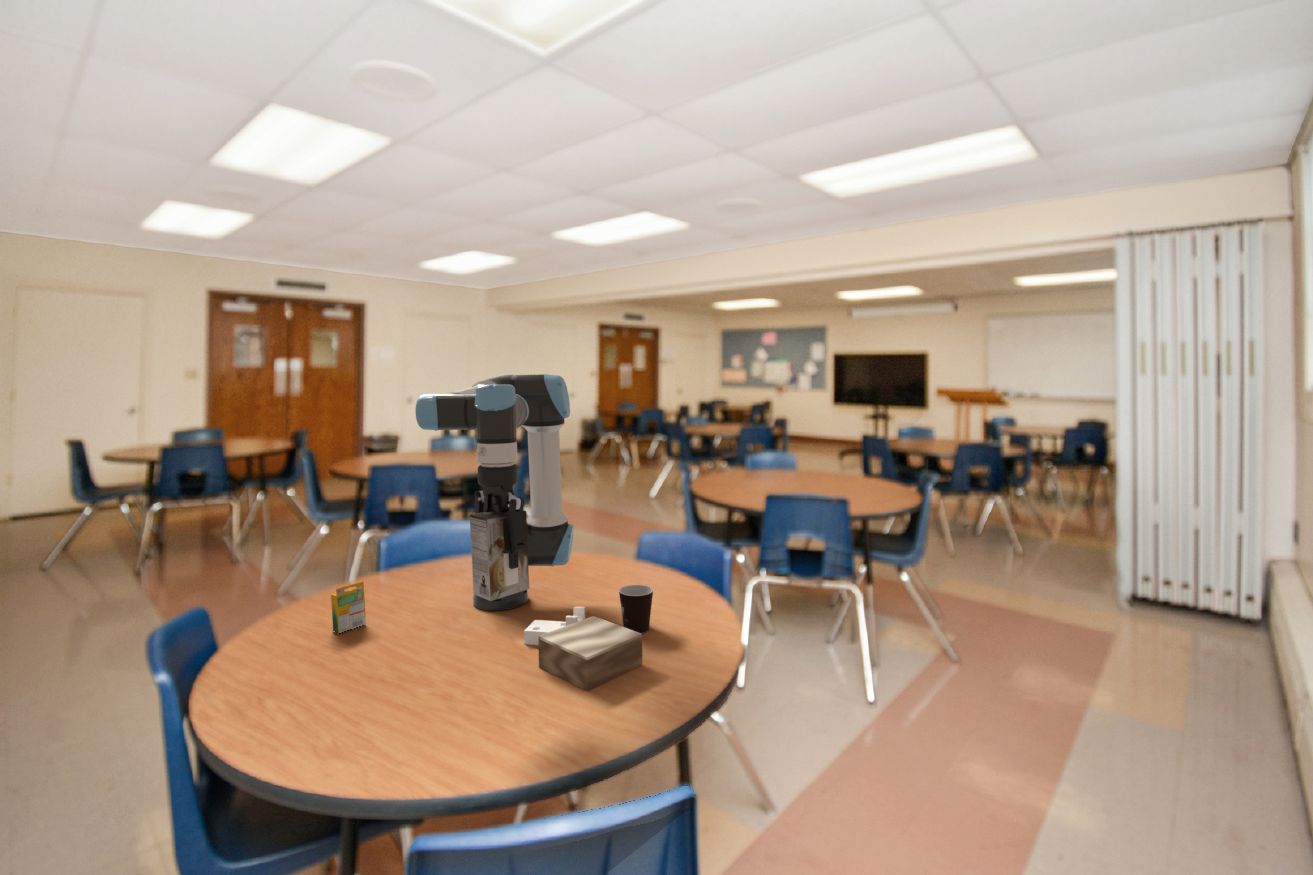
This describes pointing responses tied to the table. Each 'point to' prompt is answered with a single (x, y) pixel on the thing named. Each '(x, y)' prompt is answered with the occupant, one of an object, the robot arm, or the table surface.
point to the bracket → (550, 626)
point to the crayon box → (348, 608)
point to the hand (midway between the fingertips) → (500, 579)
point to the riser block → (590, 652)
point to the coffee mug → (636, 607)
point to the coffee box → (494, 557)
